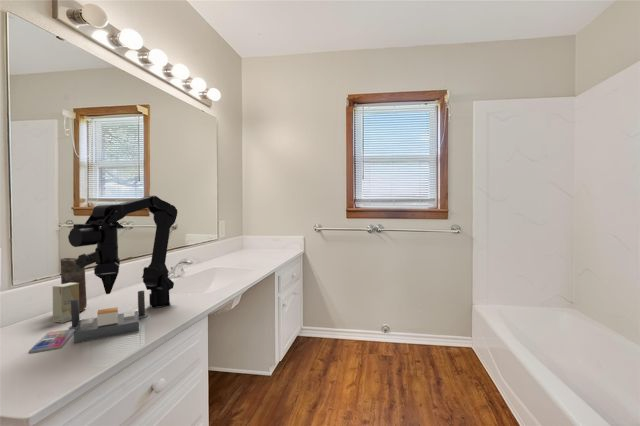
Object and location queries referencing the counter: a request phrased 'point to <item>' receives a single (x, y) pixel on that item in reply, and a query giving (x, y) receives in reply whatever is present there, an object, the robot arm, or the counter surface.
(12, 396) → the counter surface
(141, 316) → the post
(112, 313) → the slider
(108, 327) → the panel
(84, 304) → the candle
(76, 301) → the post
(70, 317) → the skincare box
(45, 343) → the smartphone
